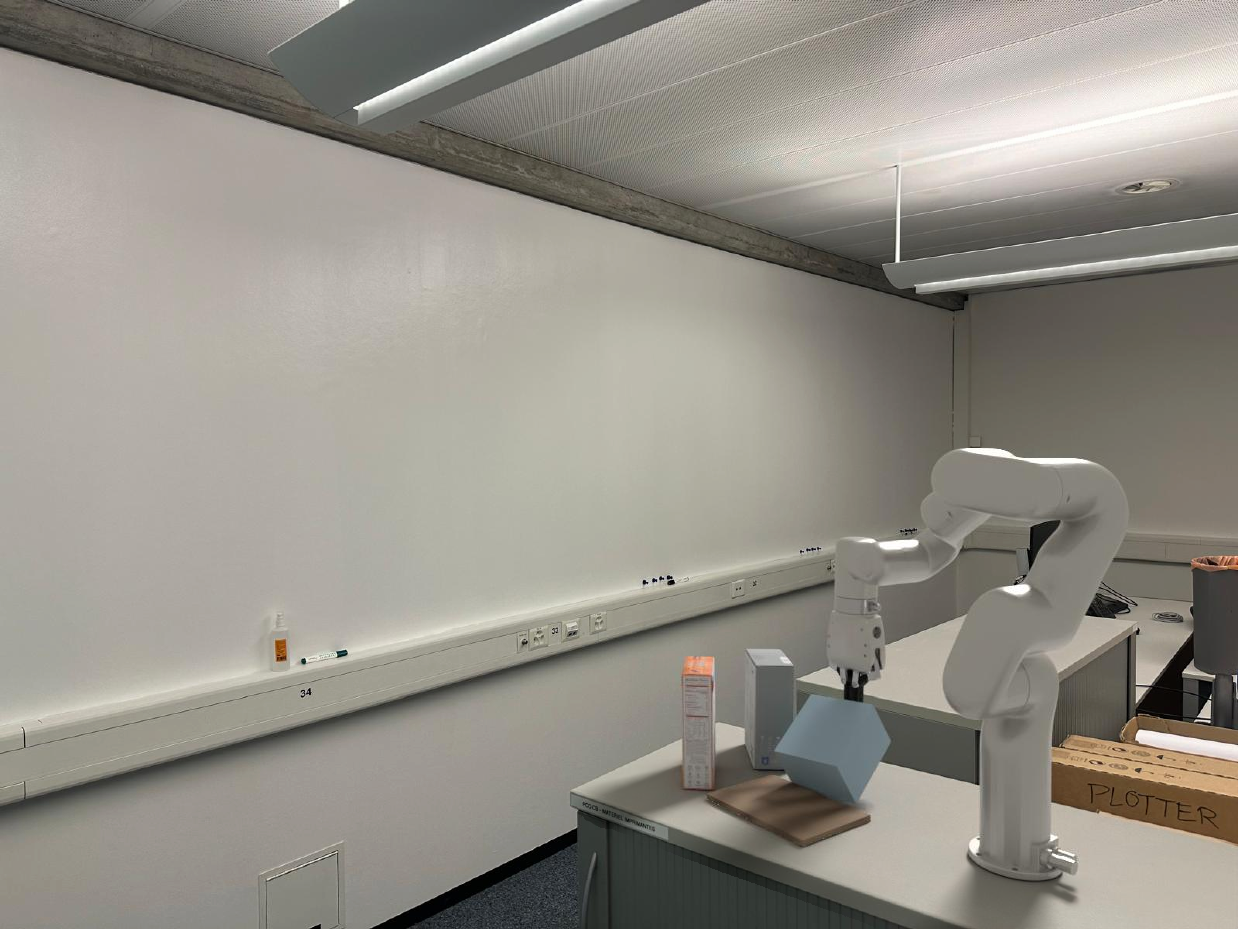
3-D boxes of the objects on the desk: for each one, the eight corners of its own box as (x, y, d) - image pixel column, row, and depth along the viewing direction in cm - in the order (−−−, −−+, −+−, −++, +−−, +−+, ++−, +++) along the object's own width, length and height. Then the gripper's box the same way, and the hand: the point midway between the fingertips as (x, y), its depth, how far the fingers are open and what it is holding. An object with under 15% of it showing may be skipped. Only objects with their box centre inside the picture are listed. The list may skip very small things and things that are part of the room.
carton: (891, 741, 150) (873, 704, 147) (856, 804, 142) (836, 766, 139) (829, 728, 160) (811, 693, 157) (793, 786, 152) (773, 751, 149)
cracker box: (684, 762, 165) (685, 654, 165) (716, 763, 164) (716, 655, 164) (680, 790, 151) (680, 672, 151) (714, 792, 150) (714, 674, 150)
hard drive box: (794, 771, 160) (794, 666, 160) (753, 771, 160) (754, 665, 160) (780, 743, 175) (780, 647, 175) (743, 743, 176) (743, 647, 176)
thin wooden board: (870, 821, 138) (870, 815, 138) (803, 847, 129) (803, 840, 129) (772, 779, 156) (772, 774, 156) (706, 799, 147) (706, 793, 146)
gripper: (904, 611, 149) (901, 714, 149) (837, 597, 161) (834, 692, 162) (876, 615, 144) (873, 722, 145) (809, 601, 157) (807, 699, 157)
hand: (853, 706), depth 153 cm, fingers closed
